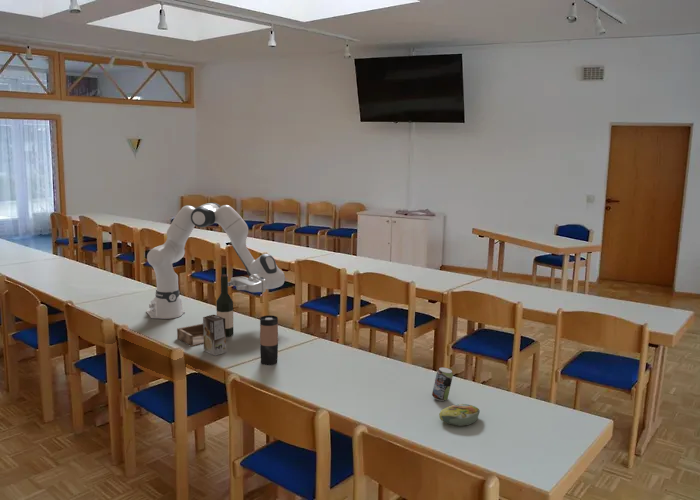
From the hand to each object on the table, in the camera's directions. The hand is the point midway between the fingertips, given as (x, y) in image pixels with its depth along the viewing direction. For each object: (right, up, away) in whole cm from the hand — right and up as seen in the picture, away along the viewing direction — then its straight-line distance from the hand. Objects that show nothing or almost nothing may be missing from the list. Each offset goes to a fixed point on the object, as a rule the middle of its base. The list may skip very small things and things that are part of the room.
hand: (232, 286), depth 301 cm
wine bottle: (-4, -24, +1) cm, 24 cm away
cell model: (+96, -42, -86) cm, 136 cm away
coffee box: (-3, -29, -23) cm, 37 cm away
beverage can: (+92, -39, -69) cm, 121 cm away
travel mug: (+23, -31, -35) cm, 52 cm away
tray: (-15, -25, -7) cm, 30 cm away
